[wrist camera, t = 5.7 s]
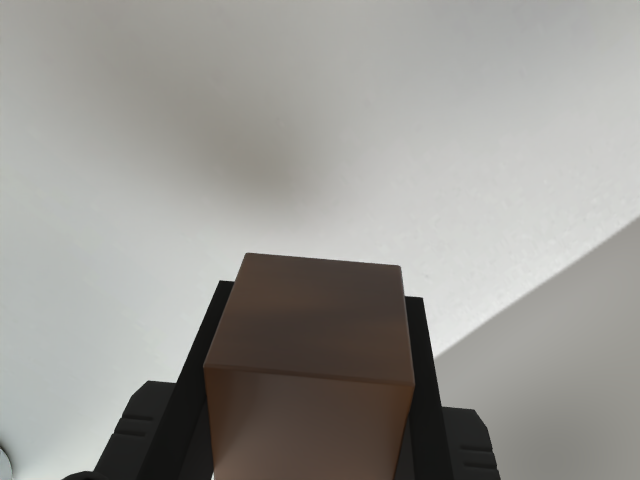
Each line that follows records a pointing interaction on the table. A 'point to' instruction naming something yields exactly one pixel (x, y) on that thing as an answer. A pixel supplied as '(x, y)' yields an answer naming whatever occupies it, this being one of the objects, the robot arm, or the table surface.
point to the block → (310, 371)
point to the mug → (5, 467)
